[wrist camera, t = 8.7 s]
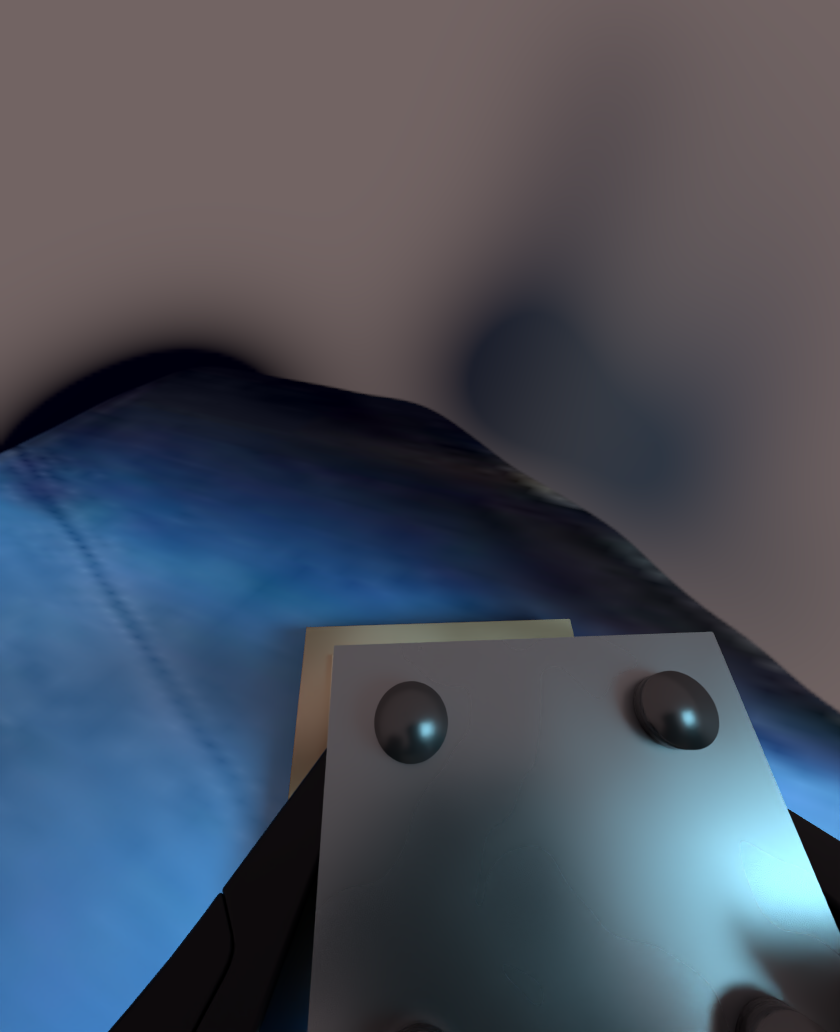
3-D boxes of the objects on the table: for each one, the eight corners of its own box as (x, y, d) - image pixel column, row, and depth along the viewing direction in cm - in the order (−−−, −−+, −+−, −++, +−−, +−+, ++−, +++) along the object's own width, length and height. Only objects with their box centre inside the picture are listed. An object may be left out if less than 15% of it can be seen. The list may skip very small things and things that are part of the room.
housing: (557, 886, 12) (1022, 1294, 3) (377, 898, 12) (275, 1382, 3) (527, 707, 15) (726, 626, 6) (379, 713, 15) (330, 640, 5)
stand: (633, 979, 16) (665, 1012, 14) (279, 1005, 15) (259, 1043, 13) (557, 628, 23) (571, 617, 21) (314, 636, 22) (305, 625, 20)
